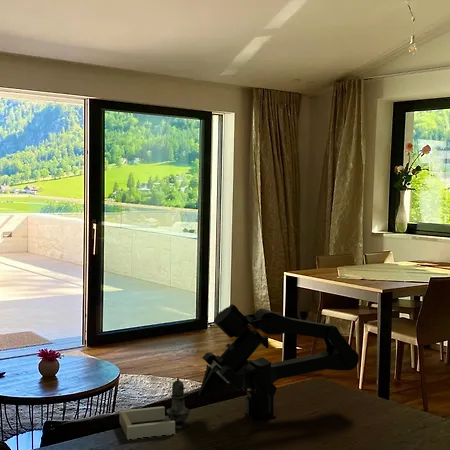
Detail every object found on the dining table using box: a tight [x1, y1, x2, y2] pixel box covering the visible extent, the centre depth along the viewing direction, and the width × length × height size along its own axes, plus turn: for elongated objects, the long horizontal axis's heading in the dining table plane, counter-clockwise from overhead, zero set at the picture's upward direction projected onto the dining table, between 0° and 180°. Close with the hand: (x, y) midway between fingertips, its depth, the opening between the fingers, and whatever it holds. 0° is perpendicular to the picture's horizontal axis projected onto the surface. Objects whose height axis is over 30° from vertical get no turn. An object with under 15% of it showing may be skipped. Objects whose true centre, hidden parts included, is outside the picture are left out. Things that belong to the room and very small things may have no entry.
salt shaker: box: [165, 377, 191, 429], centre depth 164 cm, size 6×6×12 cm
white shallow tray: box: [119, 406, 176, 441], centre depth 162 cm, size 11×12×3 cm
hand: (200, 395), depth 166 cm, fingers closed
